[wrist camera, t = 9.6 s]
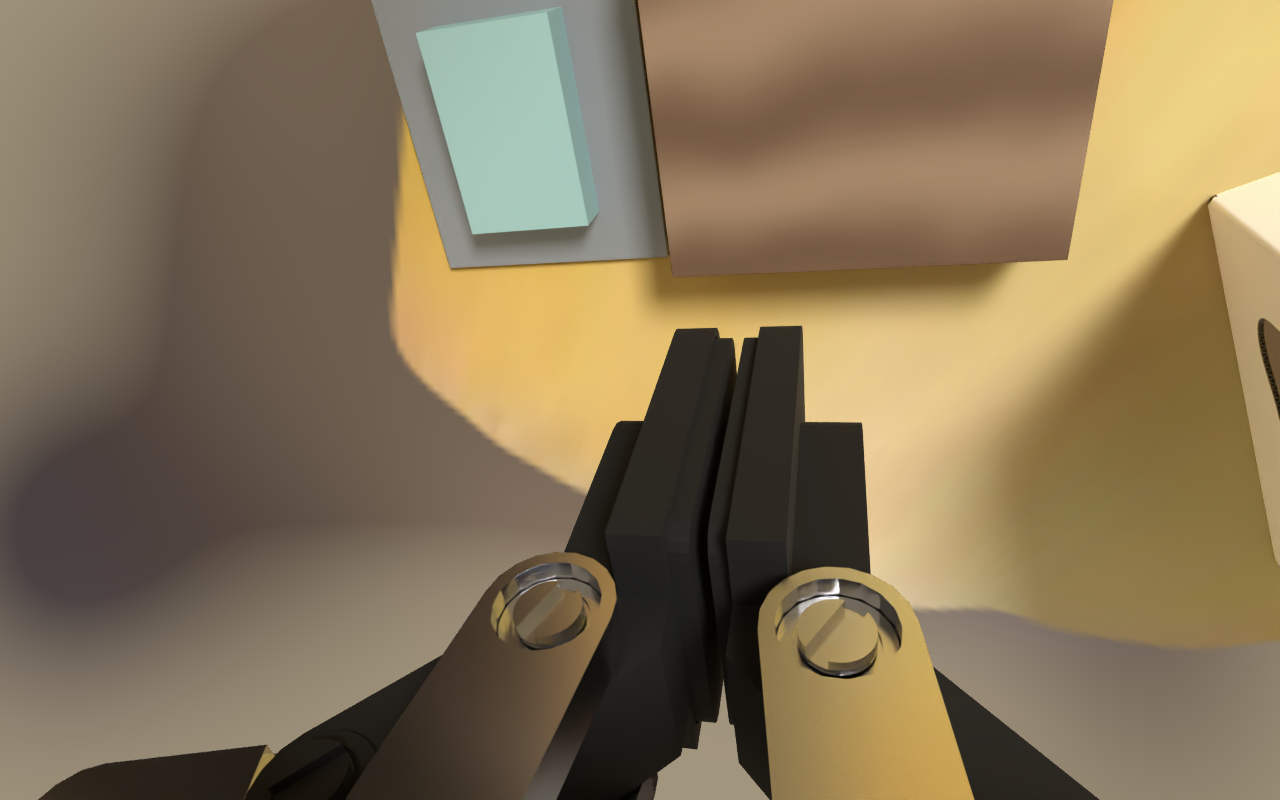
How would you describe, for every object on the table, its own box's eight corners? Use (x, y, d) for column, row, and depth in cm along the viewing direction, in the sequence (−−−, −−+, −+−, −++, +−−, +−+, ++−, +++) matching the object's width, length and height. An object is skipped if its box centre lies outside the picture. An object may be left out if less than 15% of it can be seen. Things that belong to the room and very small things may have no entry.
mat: (358, -55, 32) (354, -55, 32) (623, -103, 29) (621, -103, 29) (452, 265, 40) (450, 268, 40) (668, 254, 37) (667, 256, 37)
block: (546, 12, 30) (561, 6, 32) (415, 32, 32) (436, 26, 33) (588, 225, 35) (599, 211, 36) (472, 234, 36) (487, 220, 38)
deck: (649, -92, 29) (626, -91, 26) (1105, -172, 25) (1145, -183, 22) (686, 243, 37) (672, 277, 33) (1044, 224, 33) (1067, 259, 29)
